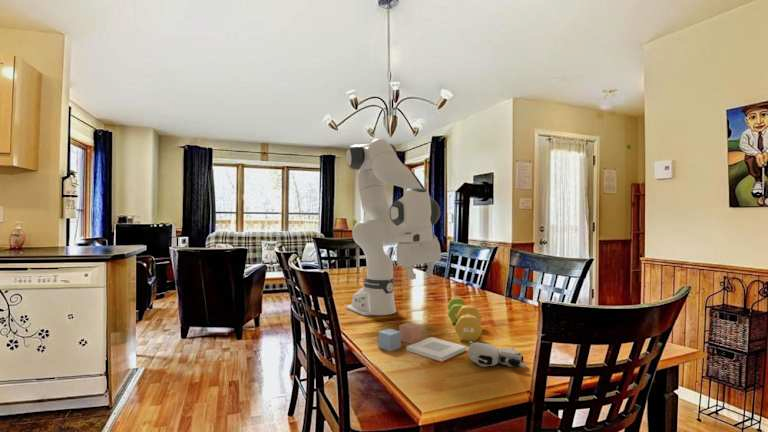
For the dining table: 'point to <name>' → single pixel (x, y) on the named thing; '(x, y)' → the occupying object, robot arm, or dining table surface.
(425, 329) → the dining table surface
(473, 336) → the dumbbell
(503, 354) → the robot toy
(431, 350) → the plate
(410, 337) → the brick terracotta
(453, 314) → the dumbbell
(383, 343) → the brick blue
